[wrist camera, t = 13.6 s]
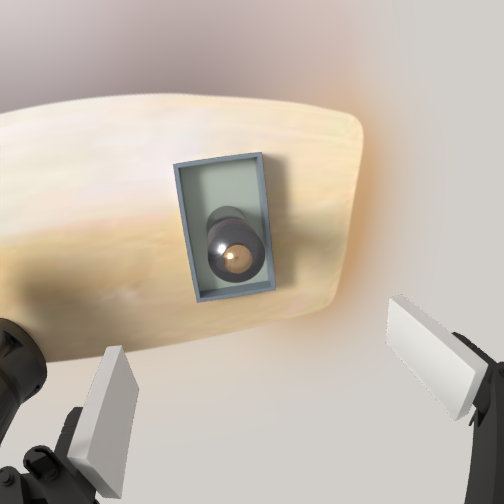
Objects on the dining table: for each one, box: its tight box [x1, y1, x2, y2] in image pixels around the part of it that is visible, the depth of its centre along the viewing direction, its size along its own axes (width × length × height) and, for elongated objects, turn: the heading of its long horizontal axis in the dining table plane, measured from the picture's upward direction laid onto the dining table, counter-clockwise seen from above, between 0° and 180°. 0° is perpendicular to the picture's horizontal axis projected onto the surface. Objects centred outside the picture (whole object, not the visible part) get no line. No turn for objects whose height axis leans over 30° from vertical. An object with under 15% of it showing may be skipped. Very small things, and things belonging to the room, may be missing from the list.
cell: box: [206, 206, 265, 283], centre depth 32 cm, size 5×5×13 cm
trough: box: [173, 152, 276, 303], centre depth 38 cm, size 10×17×3 cm, turn 7°
